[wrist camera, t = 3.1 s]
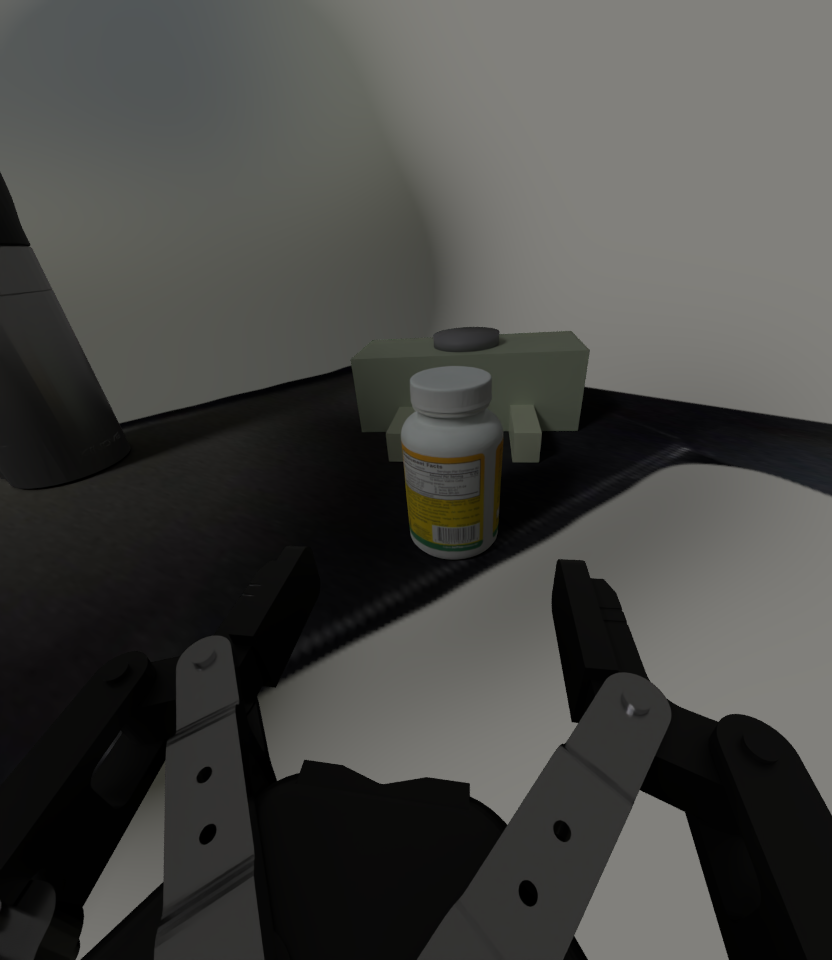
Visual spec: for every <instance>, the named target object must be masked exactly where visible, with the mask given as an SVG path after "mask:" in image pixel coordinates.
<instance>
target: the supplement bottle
mask: <svg viewBox="0 0 832 960" xmlns="http://www.w3.org/2000/svg"><path fill="white" fill-rule="evenodd" d="M410 396H411V403H412V407H413V409H414V410H415V411H416V412H414V413H413V414H411V415H410V416H409V417H408V418H407V419H406V421H405V422H404V424H403V427H402V430H401V444H402V454H403V464H404V473H405V484H406V496H407V505H408V516H409V526H410V533H411V537H412V540H413V541H414V543H415V544H416V545H417V546H418V547H419V548H420V549H421V550H423V551H424V552H426V553H428V554H430V555H432V556H434V557H438V558H442V559H451V560H458V559H466V558H470V557H473V556H476V555H478V554H480V553H482V552H484V551H485V550H487V549H488V548H489V547H490V546H491V545H492V544H493V542H494V541H495V539H496V537H497V533H498V523H499V504H500V485H501V468H502V451H503V427H502V424H501V422H500V420H499V418H498V417H497V416H496V415H495V414H494V413H493V412H492V411H490V410H488V409H487V408H488V407H489V405H490V402H491V400H492V377H491V375H490V373H488V372H487V371H485V370H482V369H479V368H474V367H465V366H445V367H437V368H431V369H427V370H423V371H420V372H418V373H416V374H414V375H413V376H412V377H411V378H410Z"/></svg>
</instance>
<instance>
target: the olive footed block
mask: <svg viewBox="0 0 832 960" xmlns="http://www.w3.org/2000/svg"><path fill="white" fill-rule="evenodd" d="M589 352H590V350H589V349H588V348H587V347H586V346H585V345H584V344H583V343H582V342H581V341H580V340H579V339H578V338H577V337H576V335H575V334H574V333H573V332H572V331H563V332H562V331H561V332H539V333H518V334H499V330H497V329H493V328H486V327H463V328H454V329H448V330H443V331H439V332H437V333H435V334H434V335H433V338H410V339H389V340H373V341H371V342H370V343H369V344H368V345H367V346H365V347H364V348H363V349H362V350H361V351H360V352H359V353H357V354H356V355H355V356H354V357H353V358H352V359H351V365H352V372H353V378H354V384H355V391H356V397H357V404H358V410H359V416H360V423H361V429H362V432H386V441H387V449H388V457H389V461H397V462H403V454H402V444H401V430H402V427H403V424H404V422H405V421H406V419H407V418H408V417H409V416H410V415H411V414H413V413H414V412H416V411H415V410H414V409H413V407H412V403H411V396H410V378H411V377H412V376H413V375H414V374H416V373H418V372H420V371H423V370H427V369H431V368H437V367H445V366H465V367H474V368H479V369H482V370H485V371H487V372H488V373H490V375H491V377H492V400H491V402H490V405H489V407H488V408H487V409H488V410H490V411H492V412H493V413H494V414H495V415H496V416H497V417H498V418H499V420H500V422H501V424H502V427H503V431H509V437H510V445H511V453H512V461H513V462H539V457H540V447H541V437H542V432H541V431H578V426H579V419H580V412H581V405H582V399H583V392H584V384H585V379H586V372H587V365H588V359H589Z"/></svg>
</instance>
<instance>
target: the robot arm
mask: <svg viewBox="0 0 832 960" xmlns="http://www.w3.org/2000/svg"><path fill="white" fill-rule="evenodd" d="M28 246H30V243H29V241H28V239H27V237H26V235H25V233H24V231H23V229H22V226H21V224H20V221H19V218H18V215H17V212H16V209H15V206H14V203H13V200H12V197H11V195H10V193H9V190H8V188H7V186H6V183H5V181H4V179H3V177H2V175H1V173H0V478H1V479H6V480H7V481H8V482H9V484H10V485H11V486H13V487H16V488H20V489H32V488H42V487H48V486H54V485H58V484H62V483H66V482H70V481H73V480H77V479H80V478H83V477H86V476H88V475H91V474H94V473H96V472H99V471H101V470H103V469H105V468H107V467H109V466H111V465H113V464H115V463H117V462H118V461H120V460H121V459H122V458H124V457H125V456H126V455H127V454H128V453H129V451H130V445H129V443H128V441H127V439H126V437H125V435H124V433H123V431H122V429H121V427H120V425H119V423H118V421H117V418H116V416H115V414H114V413H113V410H112V408H111V406H110V404H109V402H108V400H107V398H106V396H105V394H104V392H103V390H102V388H101V386H100V384H99V382H98V380H97V378H96V376H95V374H94V372H93V370H92V368H91V366H90V364H89V362H88V360H87V358H86V356H85V354H84V352H83V350H82V348H81V346H80V344H79V342H78V340H77V338H76V336H75V334H74V332H73V330H72V328H71V326H70V324H69V322H68V320H67V318H66V316H65V314H64V312H63V309H62V307H61V305H60V304H59V301H58V300H57V298H56V295H55V293H54V292H53V290H52V288H51V286H50V284H49V282H48V280H47V278H46V276H45V274H44V272H43V270H42V268H41V266H40V264H39V262H38V259H37V258H36V255H35V253H34V252H33V249H32V248H31V247H28ZM319 592H320V578H319V574H318V570H317V567H316V563H315V559H314V556H313V552H312V550H311V548H310V547H303V546H287V547H285V548H284V550H283V551H282V553H281V554H280V556H279V557H278V559H277V560H276V561H275V560H271V561H270V562H268V563H267V564H266V565H265V566H263V567H262V568H261V569H260V570H258V571H257V573H256V574H255V576H254V577H253V579H252V580H251V582H250V583H249V586H247V587H246V589H245V590H244V592H243V593H242V594H243V595H242V596H240V598H239V599H238V601H237V602H236V603H235V605H234V606H233V608H232V609H231V611H230V612H229V614H228V615H227V617H226V618H225V619H224V621H223V622H222V624H221V625H220V627H219V628H218V630H217V631H216V633H215V634H214V635H213V636H210V637H206V638H203V639H201V640H199V641H197V642H196V643H194V644H193V645H191V646H190V647H189V648H188V649H187V650H186V651H185V652H184V653H183V654H182V655H181V656H179V657H174V658H169V659H164V660H160V661H155V662H150V660H149V659H148V658H147V656H146V655H145V654H144V653H142V652H138V651H132V652H127V653H124V654H121V655H119V656H117V657H115V658H113V659H111V660H110V661H108V662H107V663H105V664H104V665H103V666H102V667H101V668H100V669H99V670H98V671H97V672H96V673H95V674H94V675H93V676H92V677H91V679H90V680H89V681H88V682H87V683H86V685H85V686H84V687H83V688H82V689H81V691H80V692H79V693H78V694H77V695H76V697H75V698H74V699H73V700H72V701H71V702H70V704H69V705H68V706H67V707H66V708H65V710H64V711H63V712H62V713H61V714H60V716H59V717H58V718H57V719H56V720H55V722H54V723H53V724H52V725H51V726H50V727H49V729H48V730H47V731H46V732H45V733H44V735H43V736H42V737H41V738H40V739H39V741H38V742H37V743H36V744H35V745H34V747H33V748H32V749H31V750H30V751H29V752H28V754H27V755H26V756H25V757H24V758H23V760H22V761H21V762H20V763H19V764H18V766H17V767H16V768H15V769H14V770H13V772H12V773H11V774H10V775H9V776H8V777H7V779H6V780H5V781H4V782H3V783H2V785H1V786H0V960H76V958H77V955H78V953H79V949H80V940H79V937H80V934H81V931H82V927H83V920H84V911H83V905H84V904H85V902H86V900H87V898H88V897H89V895H90V893H91V891H92V889H93V888H94V886H95V884H96V882H97V881H98V879H99V877H100V875H101V873H102V872H103V870H104V868H105V866H106V864H107V863H108V861H109V859H110V857H111V856H112V854H113V852H114V850H115V848H116V847H117V845H118V843H119V841H120V840H121V838H122V836H123V834H124V833H125V831H126V829H127V827H128V825H129V824H130V822H131V820H132V818H133V817H134V815H135V813H136V811H137V810H138V807H139V806H140V804H141V802H142V800H143V799H144V797H145V795H146V794H147V792H148V790H149V788H150V786H151V784H152V783H153V781H154V779H155V778H156V776H157V774H158V772H159V770H160V769H161V767H162V765H163V763H164V761H165V760H166V772H165V831H164V832H165V833H164V882H163V883H162V884H161V885H160V886H159V887H157V888H156V889H155V890H154V891H153V892H152V893H151V894H150V895H149V896H148V897H147V898H146V899H145V900H144V901H143V902H141V903H140V904H139V905H138V907H136V908H135V909H134V910H133V911H132V912H131V913H130V914H129V915H128V916H127V917H125V918H124V919H123V920H122V921H121V922H120V923H119V924H118V925H117V926H116V927H115V928H114V929H113V930H112V931H111V932H110V933H108V934H107V935H106V936H105V937H104V938H103V939H102V940H101V941H100V942H99V943H98V944H97V945H96V946H95V947H94V948H93V949H92V950H90V951H89V952H88V953H87V954H86V955H85V956H84V957H83V958H82V959H81V960H588V959H587V957H586V956H585V954H584V952H583V950H582V949H581V947H580V945H579V944H578V942H577V940H576V938H575V937H574V934H575V932H576V930H577V928H578V926H579V923H580V921H581V919H582V917H583V915H584V912H585V910H586V908H587V906H588V904H589V901H590V899H591V897H592V895H593V893H594V890H595V888H596V886H597V884H598V881H599V879H600V877H601V875H602V873H603V870H604V868H605V866H606V864H607V862H608V859H609V857H610V855H611V853H612V850H613V848H614V846H615V844H616V842H617V839H618V837H619V835H620V833H621V831H622V828H623V826H624V824H625V822H626V819H627V817H628V815H629V813H630V811H631V809H632V806H633V804H634V801H635V799H636V796H637V794H638V792H639V790H641V791H643V792H645V793H648V794H649V795H651V796H654V797H656V798H658V799H660V800H662V801H664V802H666V803H668V804H670V805H672V806H674V807H676V808H678V809H680V810H682V811H685V813H686V816H687V820H688V823H689V827H690V830H691V834H692V837H693V840H694V844H695V847H696V850H697V854H698V857H699V860H700V864H701V867H702V871H703V874H704V877H705V881H706V884H707V887H708V891H709V894H710V897H711V901H712V904H713V907H714V911H715V914H716V917H717V921H718V924H719V928H720V931H721V934H722V938H723V941H724V944H725V948H726V951H727V954H728V958H729V960H832V815H831V813H830V811H829V810H828V808H827V806H826V804H825V802H824V800H823V799H822V797H821V795H820V793H819V791H818V790H817V788H816V786H815V784H814V782H813V781H812V779H811V777H810V775H809V773H808V771H807V769H806V768H805V766H804V764H803V762H802V761H801V759H800V757H799V755H798V754H797V752H796V750H795V749H794V748H793V747H792V745H791V744H790V743H789V742H788V741H787V740H786V739H785V738H784V737H783V736H782V735H781V734H780V733H779V732H777V731H776V730H775V729H773V728H772V727H770V726H769V725H767V724H766V723H764V722H762V721H760V720H757V719H756V718H752V717H750V716H746V715H741V714H731V715H727V716H725V717H723V718H722V719H721V720H720V721H719V722H717V721H715V720H712V719H709V718H706V717H704V716H701V715H699V714H696V713H694V712H691V711H688V710H686V709H684V708H681V707H679V706H677V705H676V704H674V703H672V702H671V701H669V700H668V699H666V697H665V696H664V695H663V693H662V692H661V691H660V690H659V689H658V688H657V687H656V686H655V685H653V683H651V682H650V680H649V679H648V677H647V674H646V672H645V669H644V667H643V664H642V661H641V659H640V656H639V653H638V650H637V648H636V645H635V642H634V640H633V637H632V634H631V632H630V629H629V627H628V625H627V621H626V618H625V615H624V613H623V612H622V607H621V605H620V602H619V599H618V597H617V594H616V592H615V591H614V590H613V589H612V588H611V587H610V586H609V585H608V583H607V582H606V581H605V580H604V579H592V578H590V576H589V572H588V569H587V566H586V563H585V561H582V560H563V559H561V560H560V559H558V561H557V564H556V571H555V578H554V584H553V591H552V614H553V620H554V626H555V631H556V637H557V642H558V648H559V653H560V659H561V664H562V670H563V676H564V681H565V687H566V692H567V698H568V703H569V709H570V715H571V720H572V722H576V723H578V725H577V726H576V728H575V730H574V731H573V733H572V734H571V736H570V737H569V739H568V740H567V742H566V743H565V744H561V745H560V746H559V747H558V748H557V749H556V751H555V752H554V754H553V755H552V757H551V758H550V760H549V761H548V763H547V765H546V766H545V768H544V769H543V771H542V772H541V774H540V776H539V777H538V779H537V780H536V782H535V783H534V785H533V786H532V788H531V790H530V791H529V793H528V794H527V796H526V797H525V799H524V800H523V802H522V803H521V805H520V807H519V808H518V810H517V811H516V813H515V814H514V816H513V818H512V819H511V821H510V822H509V824H508V825H507V824H506V823H505V822H504V821H503V820H502V819H501V818H500V817H499V816H498V815H497V814H496V813H495V812H494V811H493V810H491V809H490V808H489V807H487V806H486V805H484V804H483V803H481V802H480V801H478V800H476V799H474V798H472V797H470V784H469V783H463V782H456V781H449V780H442V779H435V778H428V777H425V778H420V779H414V780H408V781H401V782H395V783H389V784H379V783H377V782H375V781H373V780H371V779H369V778H367V777H365V776H363V775H361V774H359V773H357V772H355V771H353V770H351V769H349V768H347V767H345V766H343V765H337V764H330V763H323V762H316V761H309V760H304V763H303V765H302V768H301V771H300V773H298V774H294V775H291V776H288V777H285V778H283V779H281V780H279V781H277V779H276V776H275V773H274V771H273V767H272V764H271V761H270V757H269V752H268V747H267V742H266V737H265V732H264V727H263V722H262V716H261V711H260V706H259V701H258V698H257V695H258V693H259V691H260V689H261V687H262V686H266V687H275V688H276V686H277V684H278V682H279V679H280V677H281V675H282V673H283V671H284V669H285V667H286V664H287V662H288V660H289V658H290V656H291V654H292V652H293V650H294V647H295V645H296V643H297V641H298V639H299V637H300V635H301V632H302V630H303V628H304V626H305V624H306V622H307V620H308V617H309V615H310V613H311V611H312V609H313V607H314V605H315V603H316V600H317V598H318V596H319ZM120 730H121V731H122V735H121V736H120V738H119V739H118V740H117V742H116V743H115V745H114V746H113V748H112V749H111V751H110V752H109V754H108V755H107V757H106V758H105V760H104V761H103V763H102V764H101V765H100V767H99V768H98V770H97V771H96V773H95V774H94V776H93V777H92V773H93V771H94V769H95V767H96V765H97V764H98V762H99V761H100V759H101V758H102V756H103V755H104V753H105V752H106V751H107V749H108V748H109V746H110V745H111V743H112V742H113V740H114V739H115V738H116V736H117V735H118V733H119V732H120ZM91 777H92V779H91Z"/></svg>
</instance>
